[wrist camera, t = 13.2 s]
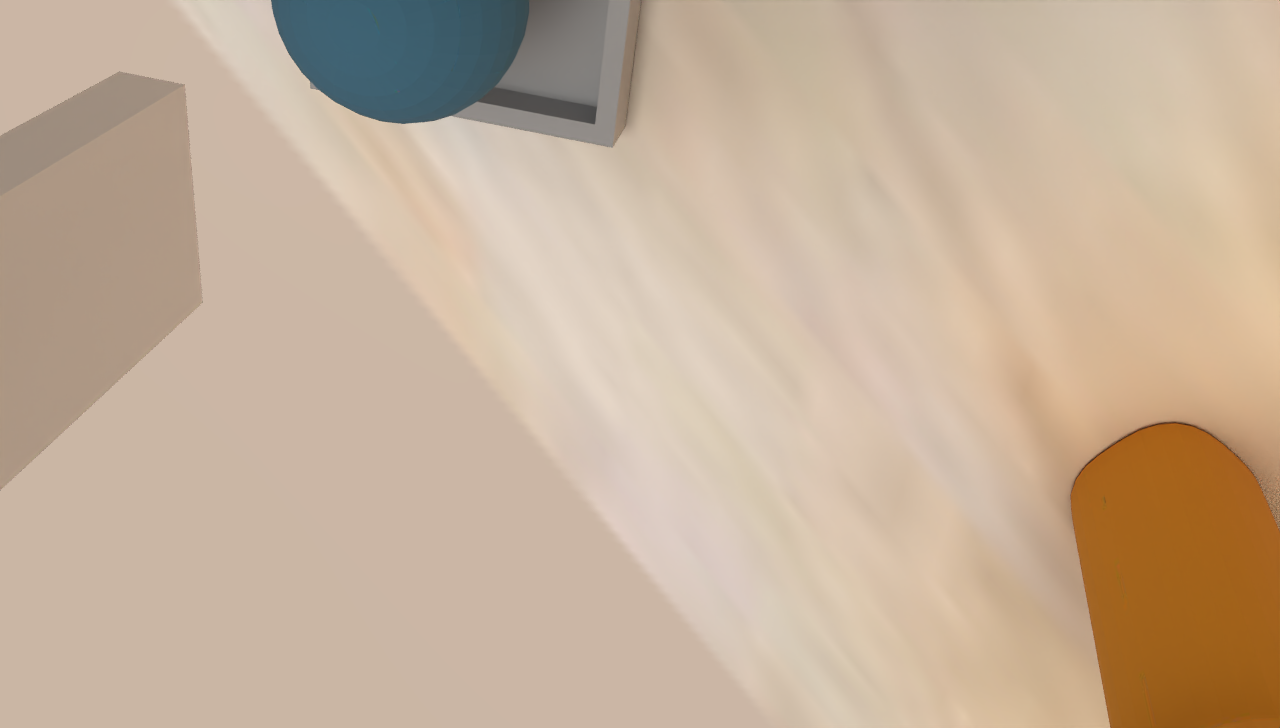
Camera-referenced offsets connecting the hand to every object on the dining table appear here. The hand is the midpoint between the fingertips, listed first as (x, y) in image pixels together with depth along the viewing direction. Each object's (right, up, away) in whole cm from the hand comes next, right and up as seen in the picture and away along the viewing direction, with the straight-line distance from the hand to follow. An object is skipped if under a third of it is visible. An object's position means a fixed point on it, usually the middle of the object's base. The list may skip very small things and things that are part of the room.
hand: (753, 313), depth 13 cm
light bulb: (-8, +16, +33) cm, 37 cm away
